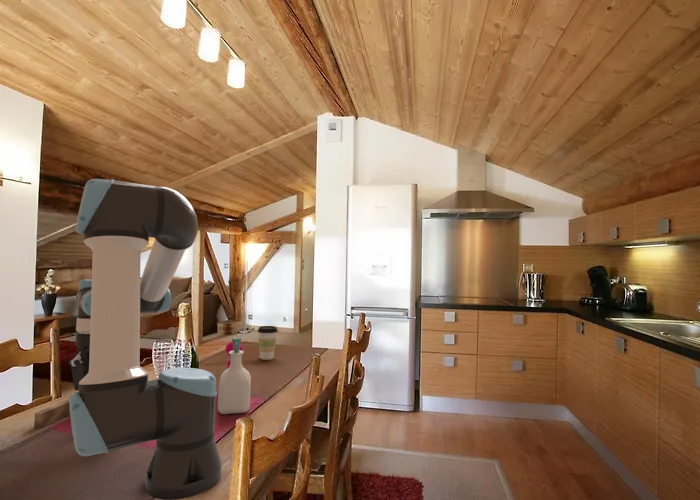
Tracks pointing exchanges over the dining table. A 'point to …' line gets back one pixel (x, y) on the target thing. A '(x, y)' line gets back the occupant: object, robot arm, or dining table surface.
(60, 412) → the chute
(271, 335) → the coffee cup
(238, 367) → the white bottle
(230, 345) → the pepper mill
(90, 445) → the robot arm
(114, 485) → the dining table surface
